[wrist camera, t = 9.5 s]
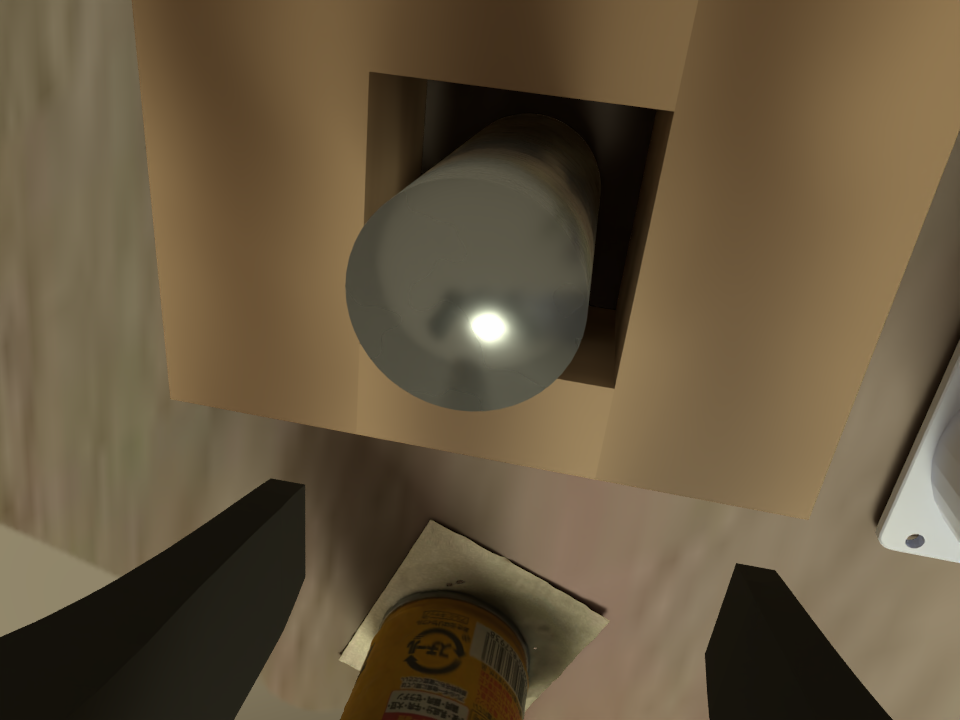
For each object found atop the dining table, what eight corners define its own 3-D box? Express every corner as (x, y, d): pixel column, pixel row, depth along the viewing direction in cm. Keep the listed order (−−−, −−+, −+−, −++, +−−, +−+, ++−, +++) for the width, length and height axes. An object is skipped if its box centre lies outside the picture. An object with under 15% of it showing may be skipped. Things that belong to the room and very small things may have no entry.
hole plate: (904, 2, 16) (1012, -7, 12) (768, 415, 21) (808, 520, 17) (244, -71, 18) (121, -102, 14) (257, 326, 23) (170, 398, 18)
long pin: (611, 121, 19) (606, 194, 10) (589, 268, 20) (570, 427, 12) (460, 105, 19) (345, 163, 11) (451, 250, 21) (345, 392, 13)
